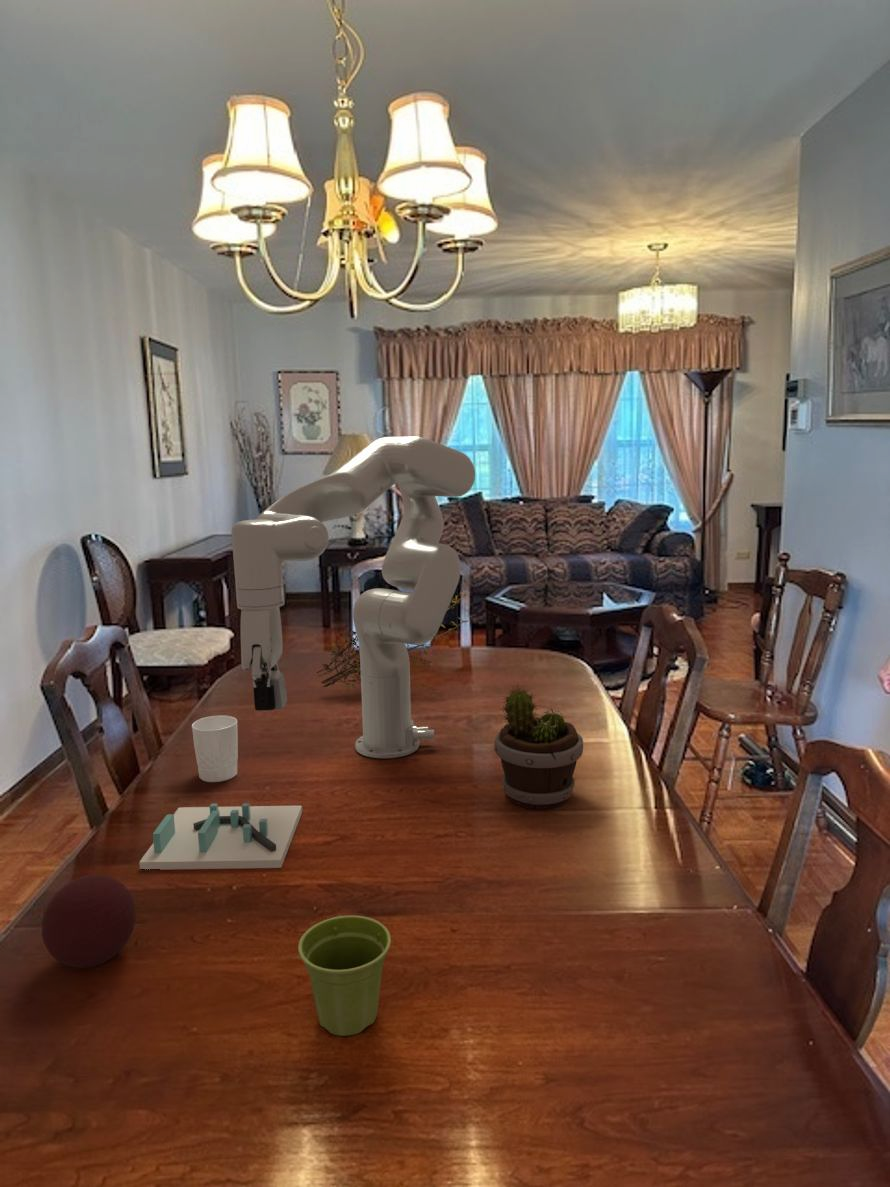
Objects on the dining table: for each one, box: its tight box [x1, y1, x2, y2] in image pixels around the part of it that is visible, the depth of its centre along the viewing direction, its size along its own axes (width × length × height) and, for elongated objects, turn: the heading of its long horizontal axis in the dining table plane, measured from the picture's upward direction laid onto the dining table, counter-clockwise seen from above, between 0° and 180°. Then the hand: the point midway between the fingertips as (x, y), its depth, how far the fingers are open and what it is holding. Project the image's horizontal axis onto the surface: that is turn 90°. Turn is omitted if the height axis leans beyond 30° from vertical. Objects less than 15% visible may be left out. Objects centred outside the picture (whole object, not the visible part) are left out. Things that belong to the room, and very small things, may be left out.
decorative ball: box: [41, 874, 137, 969], centre depth 91 cm, size 10×10×10 cm
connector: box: [257, 669, 288, 712], centre depth 130 cm, size 4×4×6 cm
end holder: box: [152, 813, 218, 853], centre depth 116 cm, size 8×6×3 cm
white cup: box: [191, 714, 239, 783], centre depth 142 cm, size 8×8×10 cm
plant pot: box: [297, 915, 392, 1037], centre depth 82 cm, size 9×9×9 cm
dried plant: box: [316, 579, 475, 696], centre depth 188 cm, size 30×31×45 cm
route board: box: [138, 805, 303, 871], centre depth 120 cm, size 20×17×1 cm
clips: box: [209, 802, 268, 842], centre depth 120 cm, size 10×8×2 cm
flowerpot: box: [493, 681, 584, 810], centre depth 131 cm, size 14×15×20 cm
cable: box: [193, 816, 276, 852], centre depth 119 cm, size 16×6×1 cm, turn 63°
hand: (268, 703), depth 130 cm, fingers closed on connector, 4 cm apart
